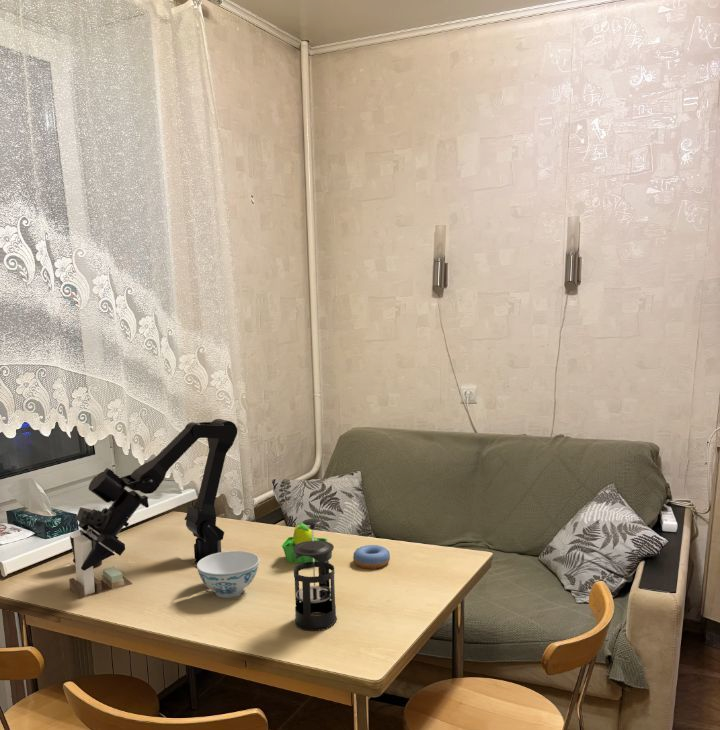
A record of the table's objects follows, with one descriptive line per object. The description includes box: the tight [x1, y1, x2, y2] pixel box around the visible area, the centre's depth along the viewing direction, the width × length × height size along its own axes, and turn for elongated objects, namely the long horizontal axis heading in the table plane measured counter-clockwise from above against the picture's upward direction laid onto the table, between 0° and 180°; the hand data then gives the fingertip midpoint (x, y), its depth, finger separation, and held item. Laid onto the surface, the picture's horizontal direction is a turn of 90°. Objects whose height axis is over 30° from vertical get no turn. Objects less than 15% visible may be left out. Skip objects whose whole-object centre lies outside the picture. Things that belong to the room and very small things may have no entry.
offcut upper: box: [102, 566, 124, 582], centre depth 174 cm, size 3×6×2 cm, turn 39°
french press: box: [293, 518, 338, 632], centre depth 152 cm, size 12×9×23 cm
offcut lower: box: [101, 574, 125, 590], centre depth 175 cm, size 3×7×2 cm, turn 39°
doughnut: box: [352, 544, 391, 569], centre depth 186 cm, size 10×10×5 cm
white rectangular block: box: [74, 535, 95, 595], centre depth 170 cm, size 2×6×13 cm, turn 39°
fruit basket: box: [281, 523, 328, 564], centre depth 188 cm, size 11×9×11 cm
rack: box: [68, 575, 133, 600], centre depth 173 cm, size 13×8×4 cm, turn 129°
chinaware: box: [196, 550, 260, 599], centre depth 169 cm, size 15×15×8 cm
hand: (78, 565), depth 169 cm, fingers closed on white rectangular block, 6 cm apart
